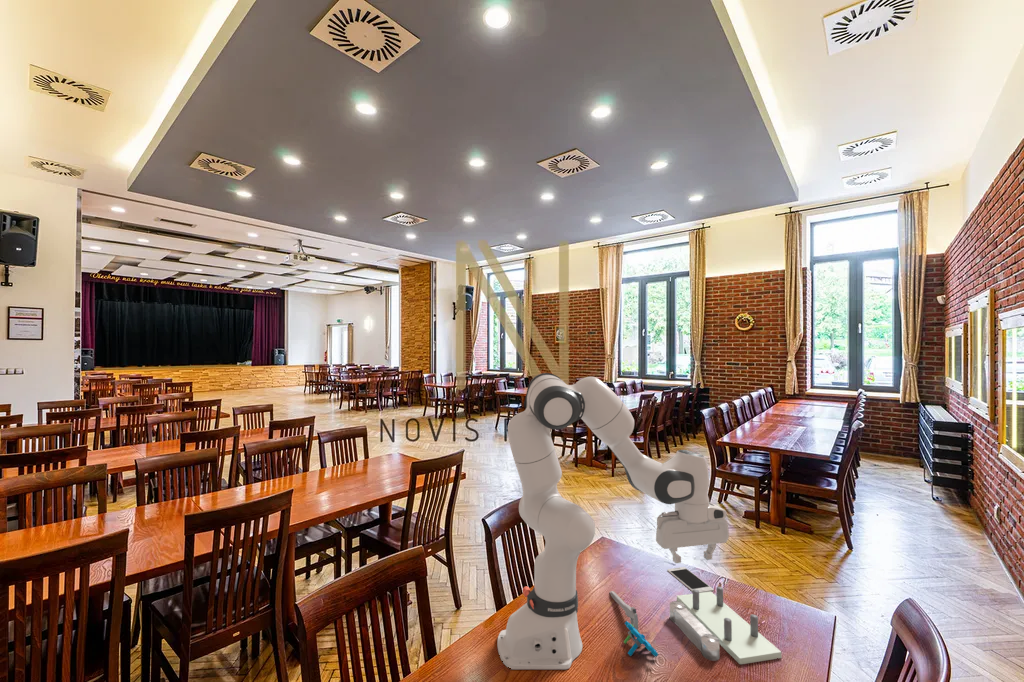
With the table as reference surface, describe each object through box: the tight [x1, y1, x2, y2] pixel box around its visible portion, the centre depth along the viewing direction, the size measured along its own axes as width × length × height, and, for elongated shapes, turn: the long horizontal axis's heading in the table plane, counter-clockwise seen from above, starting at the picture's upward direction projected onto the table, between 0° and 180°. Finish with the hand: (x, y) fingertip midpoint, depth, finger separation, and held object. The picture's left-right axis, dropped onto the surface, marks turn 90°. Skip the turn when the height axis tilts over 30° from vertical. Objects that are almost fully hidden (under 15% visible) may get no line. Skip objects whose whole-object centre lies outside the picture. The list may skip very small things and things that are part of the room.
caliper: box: [609, 590, 639, 632], centre depth 130 cm, size 20×1×6 cm, turn 7°
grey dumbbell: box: [669, 600, 720, 662], centre depth 119 cm, size 4×19×4 cm, turn 11°
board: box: [676, 586, 783, 665], centre depth 123 cm, size 12×28×6 cm, turn 11°
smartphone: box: [667, 566, 715, 593], centre depth 147 cm, size 7×16×1 cm, turn 14°
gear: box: [623, 620, 659, 658], centre depth 112 cm, size 11×6×10 cm
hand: (692, 560), depth 119 cm, fingers open, 8 cm apart
